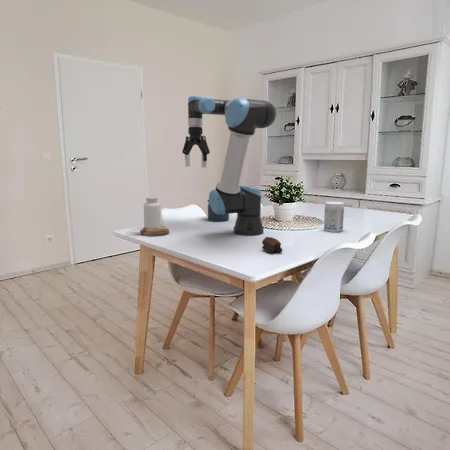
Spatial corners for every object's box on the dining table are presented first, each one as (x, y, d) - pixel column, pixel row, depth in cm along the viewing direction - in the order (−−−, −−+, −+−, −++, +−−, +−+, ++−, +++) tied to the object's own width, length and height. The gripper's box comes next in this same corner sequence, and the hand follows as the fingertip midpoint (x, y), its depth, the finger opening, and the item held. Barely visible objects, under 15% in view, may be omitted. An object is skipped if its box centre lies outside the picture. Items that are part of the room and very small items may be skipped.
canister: (228, 221, 215) (229, 191, 212) (206, 221, 216) (206, 191, 212) (229, 218, 228) (229, 189, 225) (208, 218, 228) (208, 189, 225)
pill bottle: (152, 230, 177) (152, 198, 174) (140, 228, 181) (139, 197, 178) (164, 227, 184) (163, 197, 181) (152, 225, 188) (151, 195, 185)
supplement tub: (335, 228, 200) (337, 201, 197) (346, 231, 191) (348, 203, 188) (319, 229, 196) (321, 201, 194) (330, 233, 188) (332, 204, 185)
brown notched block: (285, 241, 147) (268, 232, 154) (273, 250, 144) (256, 241, 152) (287, 252, 150) (271, 243, 158) (276, 261, 148) (259, 252, 155)
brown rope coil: (174, 233, 184) (174, 227, 183) (150, 237, 174) (150, 231, 173) (158, 229, 193) (158, 223, 193) (134, 233, 184) (134, 227, 183)
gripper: (216, 126, 192) (216, 167, 197) (186, 128, 210) (186, 166, 214) (205, 125, 187) (205, 167, 191) (175, 127, 205) (176, 166, 209)
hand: (195, 167), depth 203 cm, fingers open, 13 cm apart
